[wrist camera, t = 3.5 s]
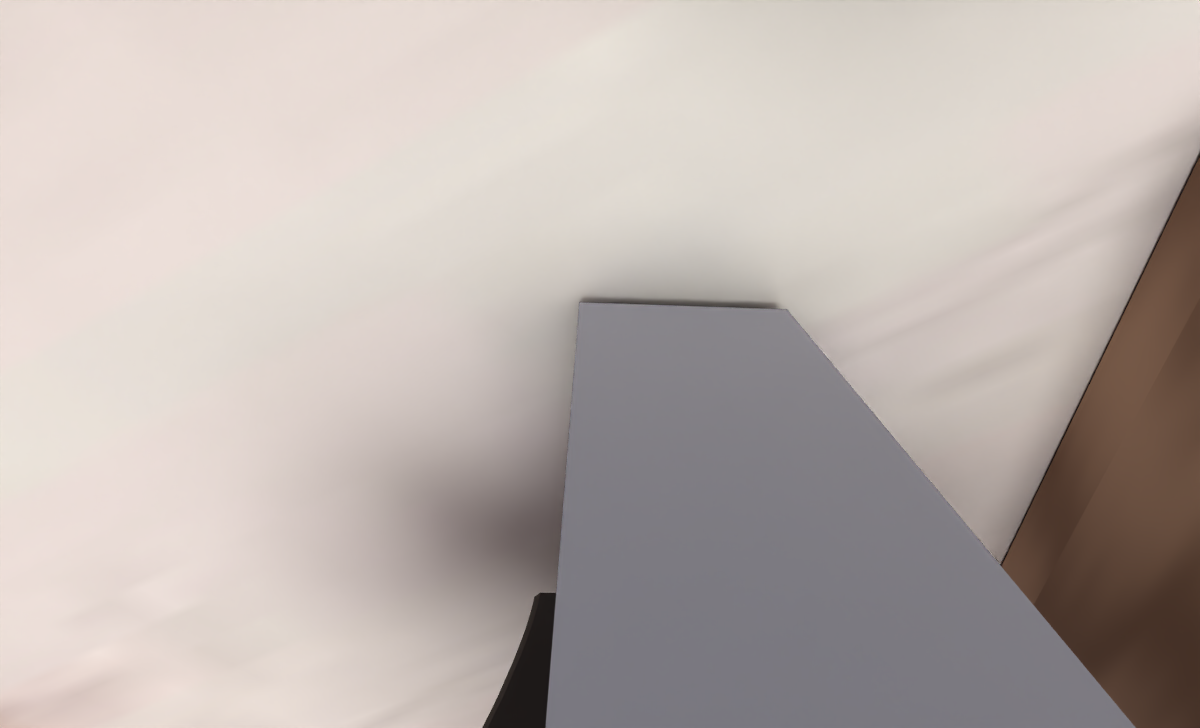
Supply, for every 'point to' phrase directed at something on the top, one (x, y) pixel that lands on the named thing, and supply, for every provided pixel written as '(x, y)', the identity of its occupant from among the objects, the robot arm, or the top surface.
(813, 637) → the grey rectangular block
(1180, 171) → the top surface
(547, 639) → the robot arm
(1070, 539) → the shelf
